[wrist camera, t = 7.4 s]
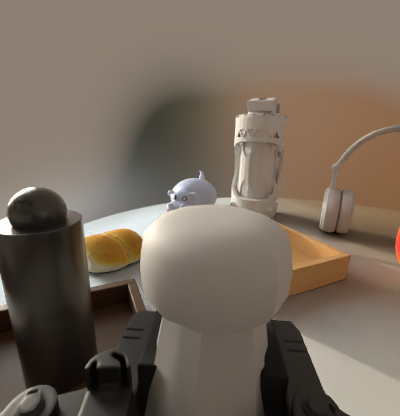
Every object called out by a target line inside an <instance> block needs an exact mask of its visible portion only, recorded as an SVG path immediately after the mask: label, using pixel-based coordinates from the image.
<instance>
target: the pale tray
mask: <svg viewBox="0 0 400 416" xmlns="http://www.w3.org/2000/svg"><path fill="white" fill-rule="evenodd" d="M275 222H276V221H275ZM277 223H278V222H277ZM278 224H279V225H280V226H281V227H282V228H283V230H284V231H285V232H286V233H287V235H288V236H289V240H290V245H291V249H292V267H293V275H292V280H291V285H290V290H289V294H288V296H287V297H289V296H292V295H295V294H298V293H301V292H305V291H308V290H311V289H314V288H318V287H321V286H324V285H327V284H331V283H334V282H337V281H340V280H343V279H346V274H347V270H348V265H349V260H350V256H351V255H349V254H347V253H344V252H342V251H340V250H338V249H335V248H333V247H331V246H329V245H327V244H324V243H322V242H320V241H318V240H316V239H313V238H311V237H309V236H307V235H305V234H302V233H300V232H298V231H296V230H294V229H291V228H289V227H287V226H285V225H283V224H280V223H278Z"/></svg>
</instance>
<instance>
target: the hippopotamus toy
mask: <svg viewBox="0 0 400 416" xmlns="http://www.w3.org/2000/svg"><path fill="white" fill-rule="evenodd" d="M199 172H201V174H200V177H199V179H198V178H191V179H186V180H183V181H181V182H180V183H178V184H177V185H176V186H175V187H174V188H173V190H169V191H168V195H171V202H170V203H169V204H168V205H167V212H168V211H172V210H175V209H179V208H182V207H188V206H197V205H214V204H215V202H216V199H217V194H216V190H215V189H214V187H213V186H212V185H211V184H210V183H209V182H207V181H206V180H204V174H203V172H202V171H199Z"/></svg>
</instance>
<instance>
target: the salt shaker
mask: <svg viewBox="0 0 400 416" xmlns="http://www.w3.org/2000/svg"><path fill="white" fill-rule="evenodd" d="M140 272H141V281H142V289H143V292H144V294H145V296H146V298H147V300H148V301H149V302H150V303H151V304H152V305H153V307H154V308H155V309H156V310H157V311H158V312H159V313H160V314H161V315H162V321H161V325H160V330H159V334H158V339H157V351H156V356H155V362H154V364H155V365H156V366H157V368H156V371H155V374H154V377H153V380H152V383H151V386H150V389H149V395H148V400H147V405H146V411H145V416H265V415H264V409H263V403H262V397H261V390H260V389H261V370H262V369H263V367H264V357H265V353H266V350H267V347H268V341H267V327H266V323H269V322H270V320H271V319H272V318H273V316H274V315H275V314H276V312H277V311H278V310H279V308H280V307H281V306H282V305H283V303H284V301H285V300H286V298H287V296H288V294H289V290H290V285H291V280H292V275H293V267H292V249H291V245H290V240H289V236H288V235H287V233H286V232H285V231H284V230H283V228H282V227H281V226H280V225H279V224H278V223H277V222H275V221H274V220H272V219H271V218H269V217H268V216H266V215H263V214H260V213H257V212H254V211H251V210H248V209H244V208H240V207H234V206H228V205H197V206H188V207H182V208H179V209H175V210H172V211H168V212H165V213H164V214H163V215H162V216H160V217H159V218H158V219H157V220H155V221H154V222H153V223H152V224H151V225H150V226H149V227H148V228H147V229H146V230H145V231H144V234H143V241H142V248H141V260H140Z"/></svg>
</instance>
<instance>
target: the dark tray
mask: <svg viewBox="0 0 400 416" xmlns="http://www.w3.org/2000/svg"><path fill="white" fill-rule="evenodd" d="M90 290H91V299H92V308H93V317H94V326H95V335H96V344H97V353H98V354H99V353H101V352H103V351H105V350H110V349H116V347H117V345H118V343H119V341H120V339H121V338H122V335H123V333H124V331H125V330H126V327H127V325H128V323H129V321H130V319H131V318H132V317H133V316H134V315H135V314H136V313H137V312H138V311H146V308H145V306H144V303H143V300H142V298H141V295H140V292H139V289H138V287H137V284H136V281H135V279H130V280H125V281H120V282H115V283H110V284H105V285H100V286H96V287H91V288H90ZM86 387H87V384H86V379H85V380H84V381H83V382H82V383H80V384H79V385H78V386H76V387H75V388H73V389H71V390H69V391H67V392H65V393H69V392H74V391H78V390H81V389H84V388H86ZM25 390H27V389H26V387H25V383H24V378H23V374H22V369H21V365H20V360H19V356H18V351H17V347H16V342H15V338H14V333H13V329H12V324H11V320H10V315H9V311H8V306H7V305H3V306H0V413H1V412H2V411H3V410H4V409H5V408H6V407H7V405H8V404H9V403H10V402H11V401H12V400H13V399H14V398H16V397H17V396H18V395H19V394H20V393H22V392H24V391H25ZM65 393H63V394H65Z"/></svg>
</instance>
